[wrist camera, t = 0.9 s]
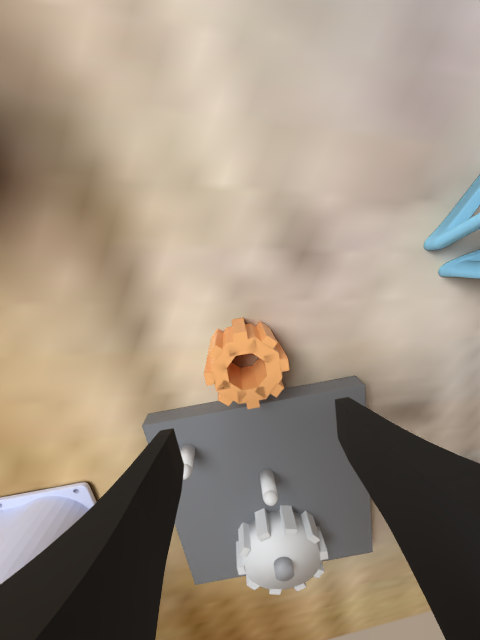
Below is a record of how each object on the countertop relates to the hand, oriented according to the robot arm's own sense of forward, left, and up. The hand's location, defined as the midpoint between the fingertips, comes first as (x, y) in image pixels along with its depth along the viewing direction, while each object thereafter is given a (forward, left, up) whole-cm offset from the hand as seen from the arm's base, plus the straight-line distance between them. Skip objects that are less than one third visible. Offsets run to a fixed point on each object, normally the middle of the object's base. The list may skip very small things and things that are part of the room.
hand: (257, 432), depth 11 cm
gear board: (0, -14, -9) cm, 17 cm away
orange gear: (0, 0, -9) cm, 9 cm away
